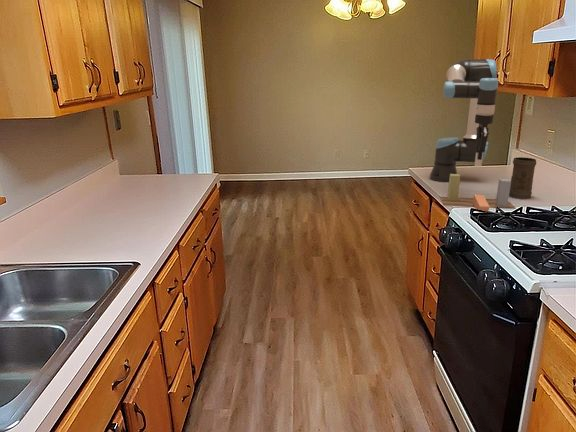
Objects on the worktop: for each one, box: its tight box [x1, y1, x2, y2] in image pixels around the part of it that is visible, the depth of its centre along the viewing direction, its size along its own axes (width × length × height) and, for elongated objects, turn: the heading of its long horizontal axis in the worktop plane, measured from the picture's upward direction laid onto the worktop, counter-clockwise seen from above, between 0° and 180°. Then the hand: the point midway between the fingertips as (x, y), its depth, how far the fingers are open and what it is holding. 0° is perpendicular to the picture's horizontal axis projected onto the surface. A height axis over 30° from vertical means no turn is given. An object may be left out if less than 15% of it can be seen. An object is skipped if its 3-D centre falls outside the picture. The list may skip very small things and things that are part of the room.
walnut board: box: [439, 196, 517, 210], centre depth 212 cm, size 15×31×1 cm, turn 80°
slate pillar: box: [495, 178, 511, 207], centre depth 204 cm, size 4×4×12 cm
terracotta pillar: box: [473, 194, 490, 213], centre depth 202 cm, size 4×4×12 cm
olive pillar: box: [446, 173, 461, 201], centre depth 214 cm, size 4×4×12 cm
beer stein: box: [509, 157, 537, 200], centre depth 221 cm, size 15×11×20 cm
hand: (477, 165), depth 212 cm, fingers closed
